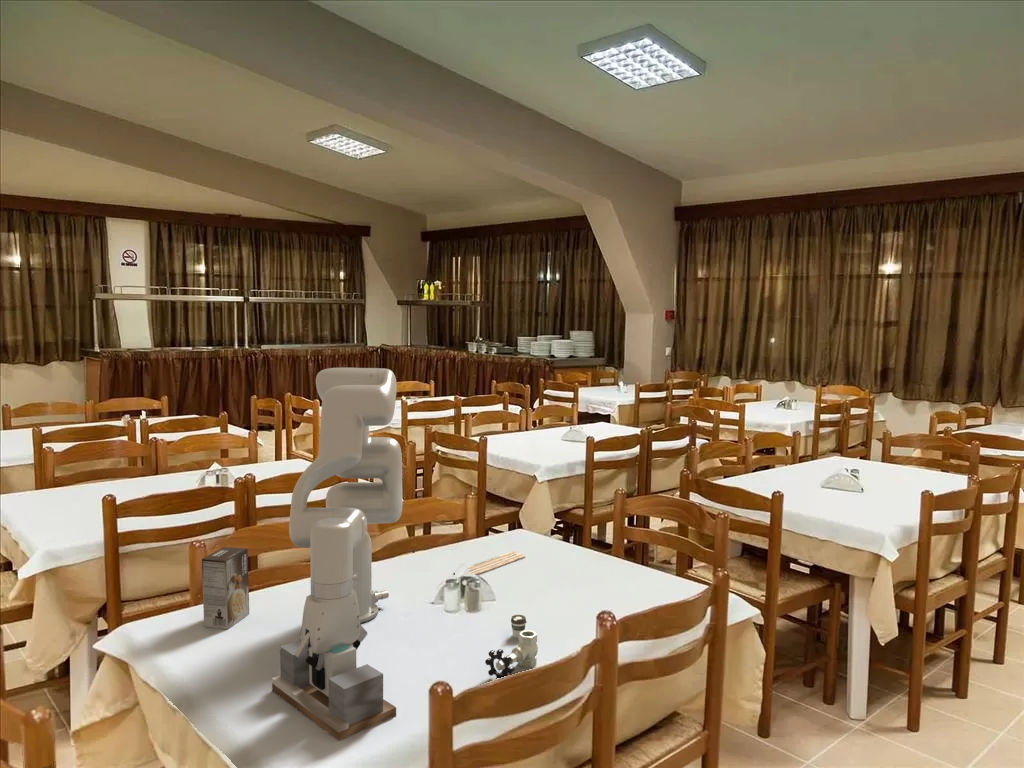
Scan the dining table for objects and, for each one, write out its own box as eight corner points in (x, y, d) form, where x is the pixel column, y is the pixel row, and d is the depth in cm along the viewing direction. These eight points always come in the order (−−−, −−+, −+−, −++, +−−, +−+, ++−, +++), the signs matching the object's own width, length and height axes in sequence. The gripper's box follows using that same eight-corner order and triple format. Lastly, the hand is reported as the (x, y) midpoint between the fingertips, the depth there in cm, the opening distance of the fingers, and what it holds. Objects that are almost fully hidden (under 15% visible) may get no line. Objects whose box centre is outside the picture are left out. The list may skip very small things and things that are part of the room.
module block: (332, 674, 148) (332, 632, 147) (356, 690, 143) (356, 646, 142) (309, 683, 145) (309, 640, 144) (332, 699, 139) (332, 655, 138)
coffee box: (225, 611, 184) (224, 545, 183) (250, 614, 183) (249, 547, 181) (202, 627, 175) (201, 558, 174) (228, 630, 174) (227, 560, 172)
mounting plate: (327, 670, 156) (327, 629, 155) (396, 715, 140) (396, 670, 139) (272, 690, 148) (271, 648, 147) (338, 740, 132) (338, 693, 131)
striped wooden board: (468, 581, 209) (469, 574, 209) (450, 574, 213) (450, 568, 213) (525, 560, 227) (525, 554, 226) (506, 554, 231) (507, 548, 231)
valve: (520, 656, 165) (484, 677, 155) (520, 626, 164) (485, 645, 154) (546, 665, 161) (511, 687, 151) (546, 634, 160) (511, 655, 150)
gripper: (359, 570, 150) (359, 660, 152) (278, 592, 138) (280, 690, 140) (382, 581, 145) (382, 674, 147) (300, 605, 133) (301, 706, 135)
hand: (332, 681), depth 144 cm, fingers closed on module block, 4 cm apart
